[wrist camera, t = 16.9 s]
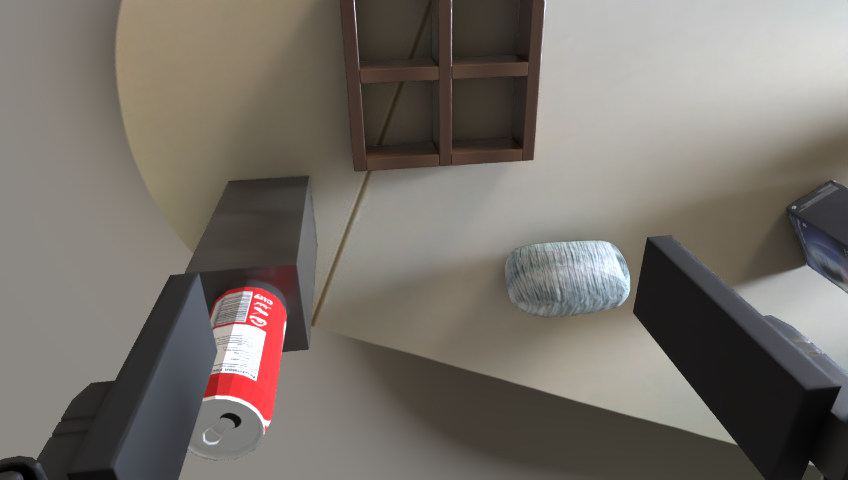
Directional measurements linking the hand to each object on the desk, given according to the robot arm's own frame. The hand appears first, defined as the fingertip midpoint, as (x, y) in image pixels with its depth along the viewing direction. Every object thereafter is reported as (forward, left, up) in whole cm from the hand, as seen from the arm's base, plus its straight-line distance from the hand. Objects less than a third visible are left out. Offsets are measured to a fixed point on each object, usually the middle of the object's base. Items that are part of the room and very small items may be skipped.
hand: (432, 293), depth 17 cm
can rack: (+6, -1, -41) cm, 41 cm away
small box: (+53, -22, -41) cm, 70 cm away
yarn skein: (+20, -24, -41) cm, 51 cm away
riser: (-11, -15, -41) cm, 45 cm away
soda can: (-11, -15, -23) cm, 30 cm away
